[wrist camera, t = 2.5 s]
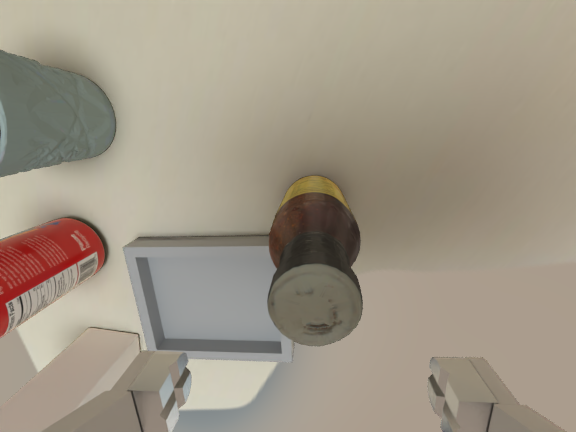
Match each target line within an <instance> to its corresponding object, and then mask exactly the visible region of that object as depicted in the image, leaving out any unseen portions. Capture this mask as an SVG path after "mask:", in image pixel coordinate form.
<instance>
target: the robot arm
mask: <svg viewBox="0 0 576 432" xmlns="http://www.w3.org/2000/svg"><path fill="white" fill-rule="evenodd" d="M187 363H188V357H187V353H184V352H170V351H142V352H140V353H139V354H138V355H137V356H136V358H135V359H134V360H133V362H132V363H131V364H130V365H129V367H128V368H127V369H126V371H125V372H124V373H123V375H122V376H121V377H120V378H119V380H118V381H117V382H116V384H115V385H114V386H113V388H112V389H111V390H110V391H104V392H103V393H101V394H99V395H98V396H96V397H95V398H93V399H92V400H90V401H88V402H87V403H85V404H84V405H82V406H80V407H79V408H77V409H76V410H74V411H73V412H71V413H69V414H68V415H66V416H65V417H63V418H61V419H60V420H58V421H57V422H55V423H54V424H52V425H50V426H49V427H47V428H46V429H44V430H43V431H41V432H172V431H173V429H174V427H175V424H176V422H177V420H178V418H179V411H178V409H179V408H180V407H181V406H182V405H184V404H185V403H186V400H187V398H188V396H189V393H190V388H191V372H190V371H189V370H188V369H187V368H186V365H187ZM430 369H431V371H432V373H433V374H432V375H431V376H430V377H429V378H428V386H427V387H428V395H429V399H430V403H431V405H432V408H433V410H434V412H435V413H436V414H437V415H438V416H439V417H441V419H442V420H441V429H442V431H443V432H567V431H565V430H564V429H562V428H561V427H559V426H557V425H556V424H554V423H553V422H551V421H550V420H548V419H547V418H545V417H544V416H542V415H541V414H539V413H538V412H536V411H535V410H533V409H531V408H530V407H528V406H527V405H520V404H519V402H518V401H517V400H516V398H515V397H514V396H513V394H512V393H511V392H510V391H509V389H508V388H507V387H506V385H505V384H504V383H503V381H502V380H501V379H500V377H499V376H498V375H497V373H496V372H495V371H494V370H493V368H492V367H491V366H490V364H489V363H488V362H487V360H485V359H484V358H483V357H480V358H479V357H465V358H463V357H461V358H460V357H432V359H431V360H430Z"/></svg>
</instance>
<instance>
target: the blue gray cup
mask: <svg viewBox="0 0 576 432" xmlns="http://www.w3.org/2000/svg"><path fill="white" fill-rule="evenodd" d="M115 128H116V121H115V116H114V111H113V108H112V106H111V103H110V102H109V100H108V98H107V96H106V95H105V94H104V92H103V91H102V90H101V89H100V88H99V87H98V86H97V85H96V84H94V83H93V82H92V81H90V80H89V79H87V78H85V77H83V76H81V75H78V74H75V73H72V72H68V71H64V70H62V69H58V68H52V67H49V66H43V65H41V64H40V63H39V62H37V61H35V60H30V59H28V58H25V57H22V56H17V55H15V54H9V53H7V52H5V51H3V50H0V177H4V176H7V175H12V174H17V173H19V172H26V171H30V170H32V169H38V168H43V167H50V166H52V165H58V164H61V162H63V161H66V162H70V161H76V160H82V159H87V158H91V157H95V156H97V155H99V154H101V153H103V152H104V151H105V150H106V149H107V148H108V147H109V146H110V144H111V143H112V141H113V138H114V135H115Z"/></svg>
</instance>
